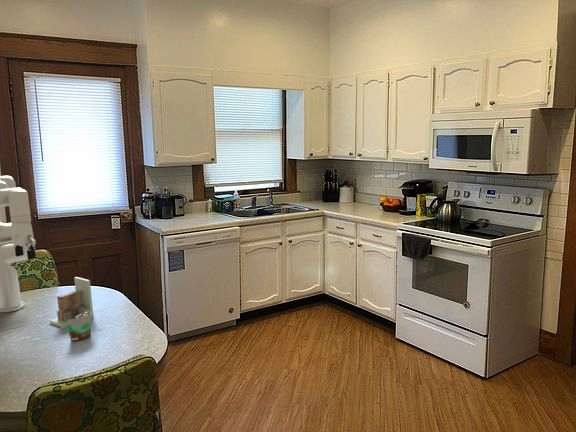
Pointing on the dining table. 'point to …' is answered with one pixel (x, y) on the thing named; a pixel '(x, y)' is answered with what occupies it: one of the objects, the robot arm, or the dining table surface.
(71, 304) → the wooden block
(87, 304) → the hinge base
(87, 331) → the food container
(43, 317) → the dining table surface
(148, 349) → the dining table surface
